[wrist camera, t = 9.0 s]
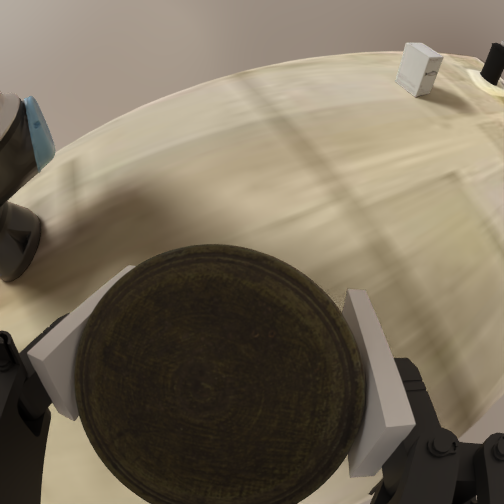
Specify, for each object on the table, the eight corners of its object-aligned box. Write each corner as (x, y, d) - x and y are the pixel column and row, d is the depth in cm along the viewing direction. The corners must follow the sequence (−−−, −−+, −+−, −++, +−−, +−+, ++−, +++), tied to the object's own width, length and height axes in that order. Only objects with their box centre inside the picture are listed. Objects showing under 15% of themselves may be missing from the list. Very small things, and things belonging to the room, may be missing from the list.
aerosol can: (484, 80, 61) (501, 41, 43) (477, 70, 65) (491, 32, 46) (499, 88, 60) (516, 51, 42) (491, 77, 63) (506, 42, 45)
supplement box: (415, 98, 53) (429, 57, 41) (394, 81, 56) (404, 41, 44) (430, 94, 54) (444, 56, 42) (410, 78, 57) (421, 41, 45)
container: (289, 320, 25) (323, 198, 8) (313, 417, 21) (404, 488, 5) (190, 341, 24) (59, 262, 8) (210, 437, 21) (96, 524, 4)
